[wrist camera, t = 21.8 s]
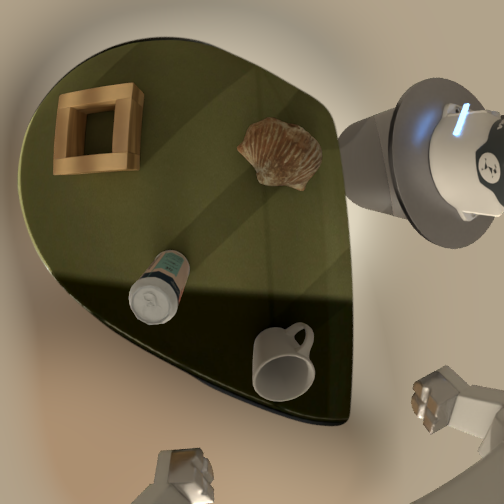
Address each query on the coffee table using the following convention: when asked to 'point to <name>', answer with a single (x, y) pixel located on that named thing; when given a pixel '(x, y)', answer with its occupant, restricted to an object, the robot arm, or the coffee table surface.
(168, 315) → the beer can
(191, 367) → the coffee table surface
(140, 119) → the holder
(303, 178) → the seashell
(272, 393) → the cup
